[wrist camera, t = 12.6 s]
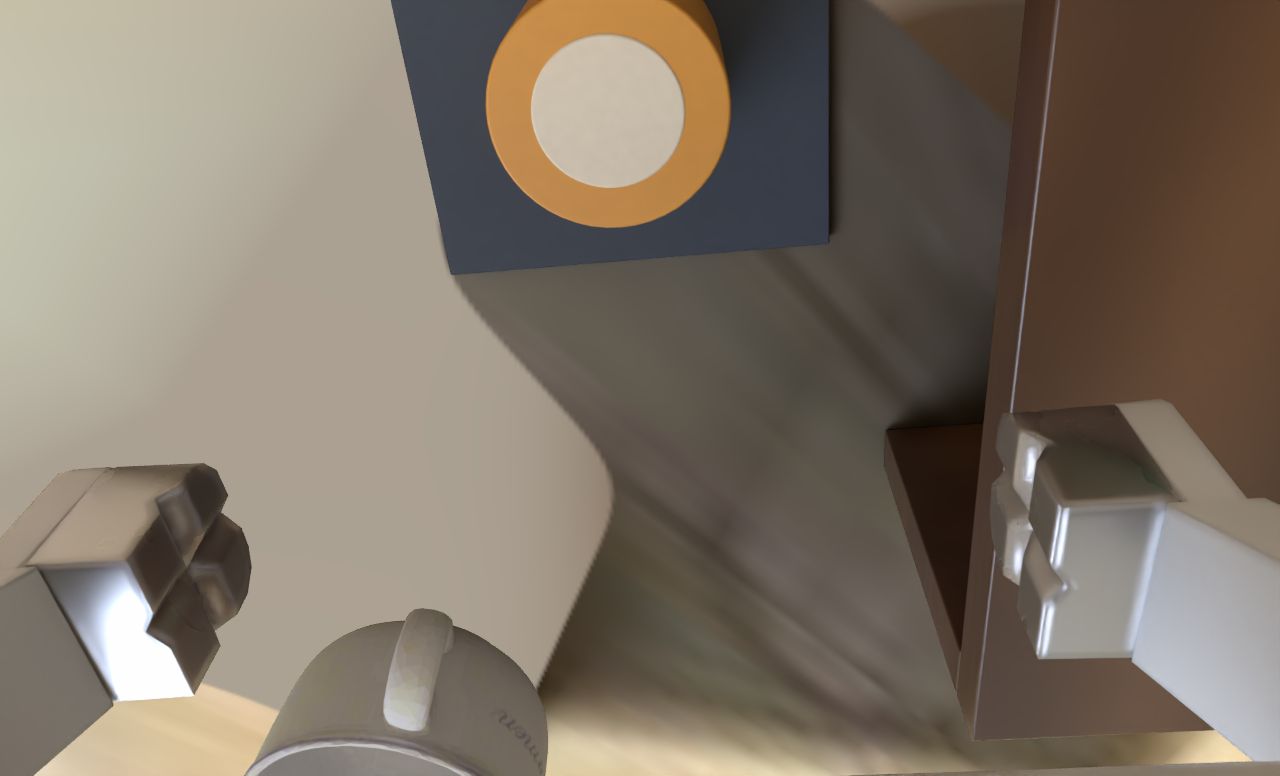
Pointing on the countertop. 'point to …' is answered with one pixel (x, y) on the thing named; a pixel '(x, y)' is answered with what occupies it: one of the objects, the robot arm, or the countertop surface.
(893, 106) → the countertop surface
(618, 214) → the tape roll
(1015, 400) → the shelf
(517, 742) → the teacup
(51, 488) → the robot arm
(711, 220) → the mat
